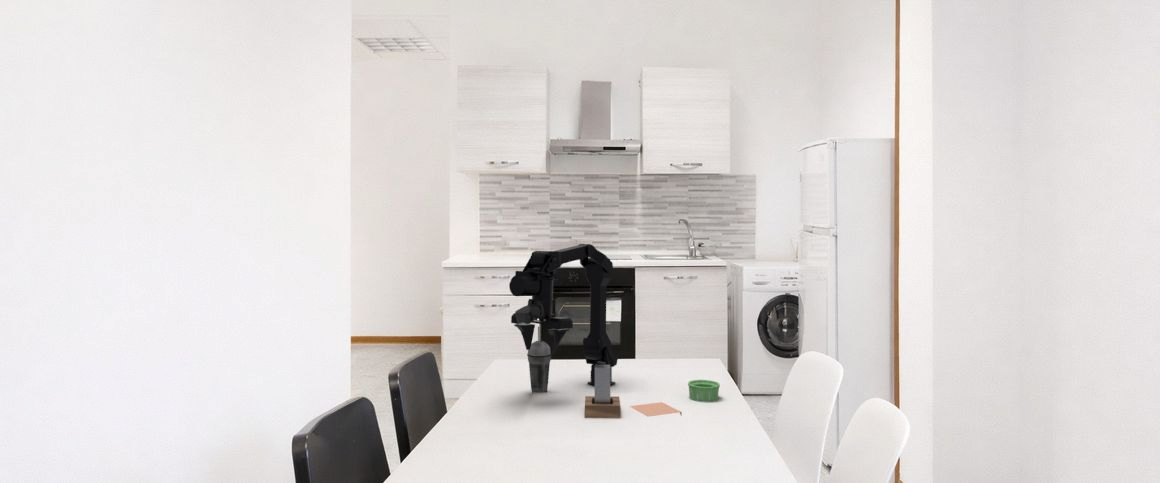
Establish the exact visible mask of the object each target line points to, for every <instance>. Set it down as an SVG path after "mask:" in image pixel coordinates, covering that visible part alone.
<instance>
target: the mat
mask: <svg viewBox="0 0 1160 483" xmlns="http://www.w3.org/2000/svg"><path fill="white" fill-rule="evenodd" d="M629 407H630V408H632V409H634V410H636V411H637V412H639V413H640V414H643V416H646V417H653V416H661V415H669V414H679V415H680V416H681V417H682V415H683V414H682V411H681V410H678V409H676V408H674V407H673V406H671V405H668V404H666V403H665V402H662V401H660V402H659V401H658V402H654V403H653V402H652V403H645V404H643V403H642V404H636V405H629Z"/></svg>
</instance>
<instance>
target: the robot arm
mask: <svg viewBox="0 0 1160 483" xmlns="http://www.w3.org/2000/svg"><path fill="white" fill-rule="evenodd" d="M577 260H579V263H580V265H581V267H582V268H583V269H584V270H585V272H584V273H585V278H586V280H587V281H588V282H587V283H588V285H589V286H590V296H589V297H590V300H589V302H590V303H589V308H590V309H589V310H590V311H589V333H588V335H587V336H586V337H584V338H583V339H582V352H583V356H584V359H585V362H586V364H587V365H590V381H587V385H592V386H595V365H610V386H612V385H615V384H616V381H613V380H612V378H613V377H612V374H613V371H612V369H613V368H614V367H615V366H617V363H618V356H617V355H616V354H615V353H614V351H613V350H612V342H611V339H610V337H609V336H608V334H607V287H608V284H609V283H610V281H611V280H612V276H613V269H614V263H613V262H612V261H611V259H610V258H609V257H608V256H607V255H606V254H605V253H604V252H601V251H600V250H598V249H597V248H596V247H595V246H594V245H593V244H590V243H580V244H577V245H574V246H569V247H566V248H562V249H561V248H560V249H558V250H533V251H532V253H531V255H530V257H529V259H528V260H527V262H526V264H525V266H524V268H523V269H522V270H515V271H514V272H515V274H514V275H513V276H512V277H511V279H510V282H509V283H508V284H509V287H508V288H509V291H510V293H511V294H512V295H513V296H514V297H531V298H528V301H527V305H524V306H522V307H520V308H519V309H517V310H515V312H514V313H513V314H512V315H511V316H510V318H511V320H510V323H511V324H513V325H514V327H515V328H517V329H518V330H519V331H520V334H521V336H522V339H523V343H524V346H525V349H526V351H528V350H530V348H531V344H532V343H533V339H534V333H535V328H536V324H539V325H545V326H546V325H547V326H548V327H549V328H547V332H548V333H549V335H550V336H549V338H550V340H549V342H550V343H549V347H550V353H551V354H552V355H555V353H556V350H557V349H558V347H559V345H560V343H561V341H562V339H563V338H564V336H565V334H566V333H567V332H569V331H570V329H573V326H574V323H573V320H572V318H571V317H565V316H556V314H554V313H553V304H556V299H553V294H554V280H557V281H558V280H559V276H558V275H557V274H556V273H555V271H556V270H558V269H560V268H561V267H562V265H563V264H568V263H571V262H574V261H577Z"/></svg>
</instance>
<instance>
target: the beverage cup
mask: <svg viewBox="0 0 1160 483" xmlns="http://www.w3.org/2000/svg"><path fill="white" fill-rule="evenodd" d="M540 327H541V326H537V340H535V341H534V342H533V341H532V344H531V348H530V350H527V361H528V368H529V378H530V380H529V381H530V389H531V390H530V391H531V394H532V395H533V394H534V393H548V389H549V388H548V386H549V377H550V376H549V375H550V366H551V365H550V364H551V359H552V355H553V354H551V353H550V344H548V343H547V342H545V341H543V340H541V334H540V330H541V329H540Z"/></svg>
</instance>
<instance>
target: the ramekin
mask: <svg viewBox="0 0 1160 483" xmlns="http://www.w3.org/2000/svg"><path fill="white" fill-rule="evenodd" d="M687 385H688V393H689V398H690V399H691V400H693V401H696V402H702V401H711V402H715V401H717V400H718V399H719V391H720V385H721V384H720V383H719V382H717V381H714V380H711V379H693V380H690V381H688V382H687ZM714 400H715V401H714Z"/></svg>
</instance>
